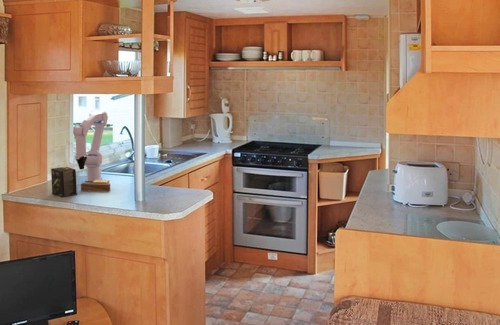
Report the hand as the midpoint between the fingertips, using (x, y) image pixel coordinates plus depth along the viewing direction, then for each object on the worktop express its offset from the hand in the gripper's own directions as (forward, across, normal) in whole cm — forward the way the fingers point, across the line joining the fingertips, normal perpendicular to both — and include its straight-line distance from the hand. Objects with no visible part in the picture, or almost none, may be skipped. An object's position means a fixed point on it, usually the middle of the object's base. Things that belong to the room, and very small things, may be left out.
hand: (81, 169), depth 299 cm
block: (+10, -7, -14) cm, 19 cm away
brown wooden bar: (+10, -12, -12) cm, 20 cm away
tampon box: (+10, -22, +2) cm, 25 cm away
